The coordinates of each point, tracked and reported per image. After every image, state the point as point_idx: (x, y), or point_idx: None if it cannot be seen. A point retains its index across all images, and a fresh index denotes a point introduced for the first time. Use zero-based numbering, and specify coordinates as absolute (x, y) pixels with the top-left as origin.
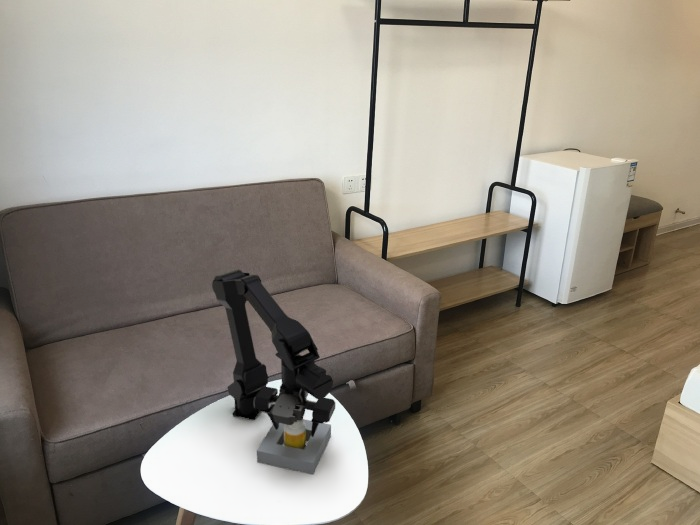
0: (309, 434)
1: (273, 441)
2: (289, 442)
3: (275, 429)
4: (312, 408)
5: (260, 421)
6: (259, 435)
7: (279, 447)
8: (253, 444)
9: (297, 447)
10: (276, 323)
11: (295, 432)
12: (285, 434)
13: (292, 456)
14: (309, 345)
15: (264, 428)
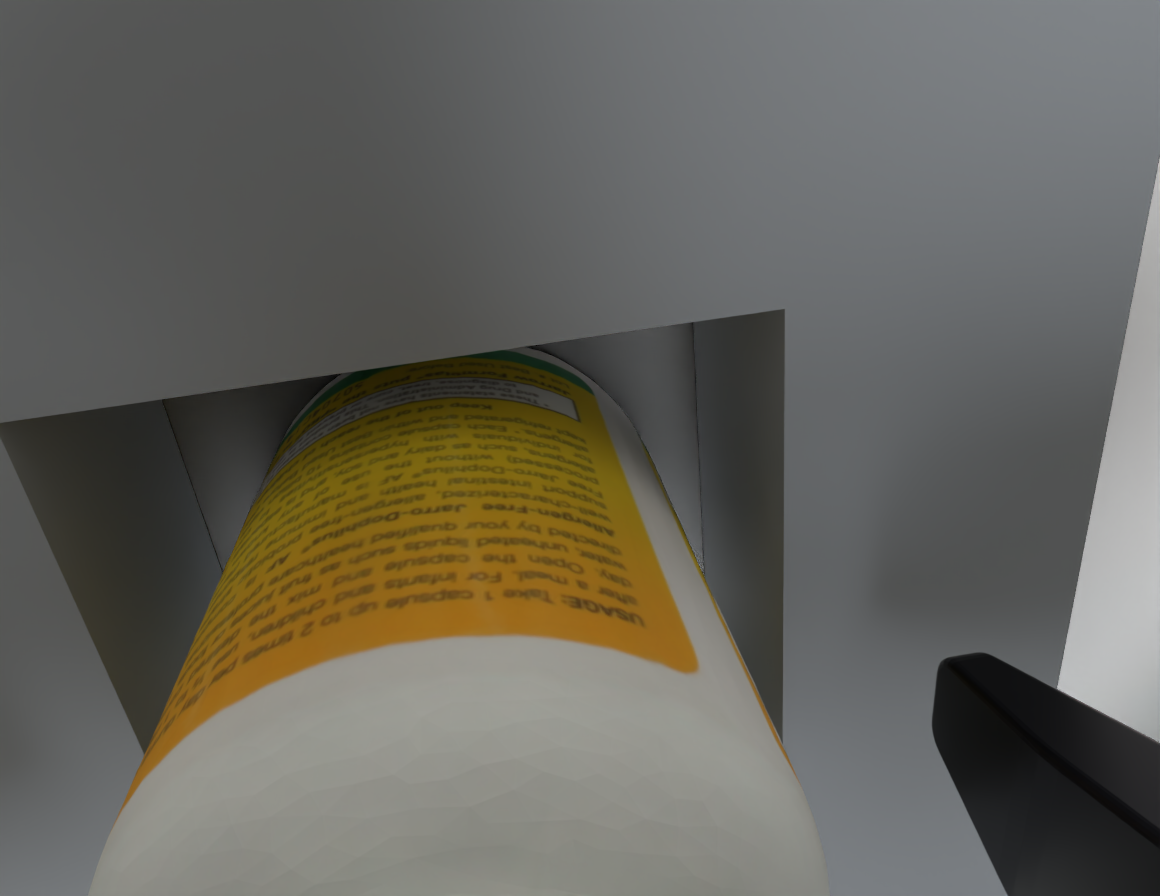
0: None
1: (878, 352)
2: (468, 463)
3: None
4: None
5: (1156, 717)
6: (1109, 505)
7: (647, 219)
8: (1156, 299)
9: (294, 466)
10: None
11: (235, 795)
12: (640, 599)
13: (89, 26)
14: None
15: (1073, 643)
